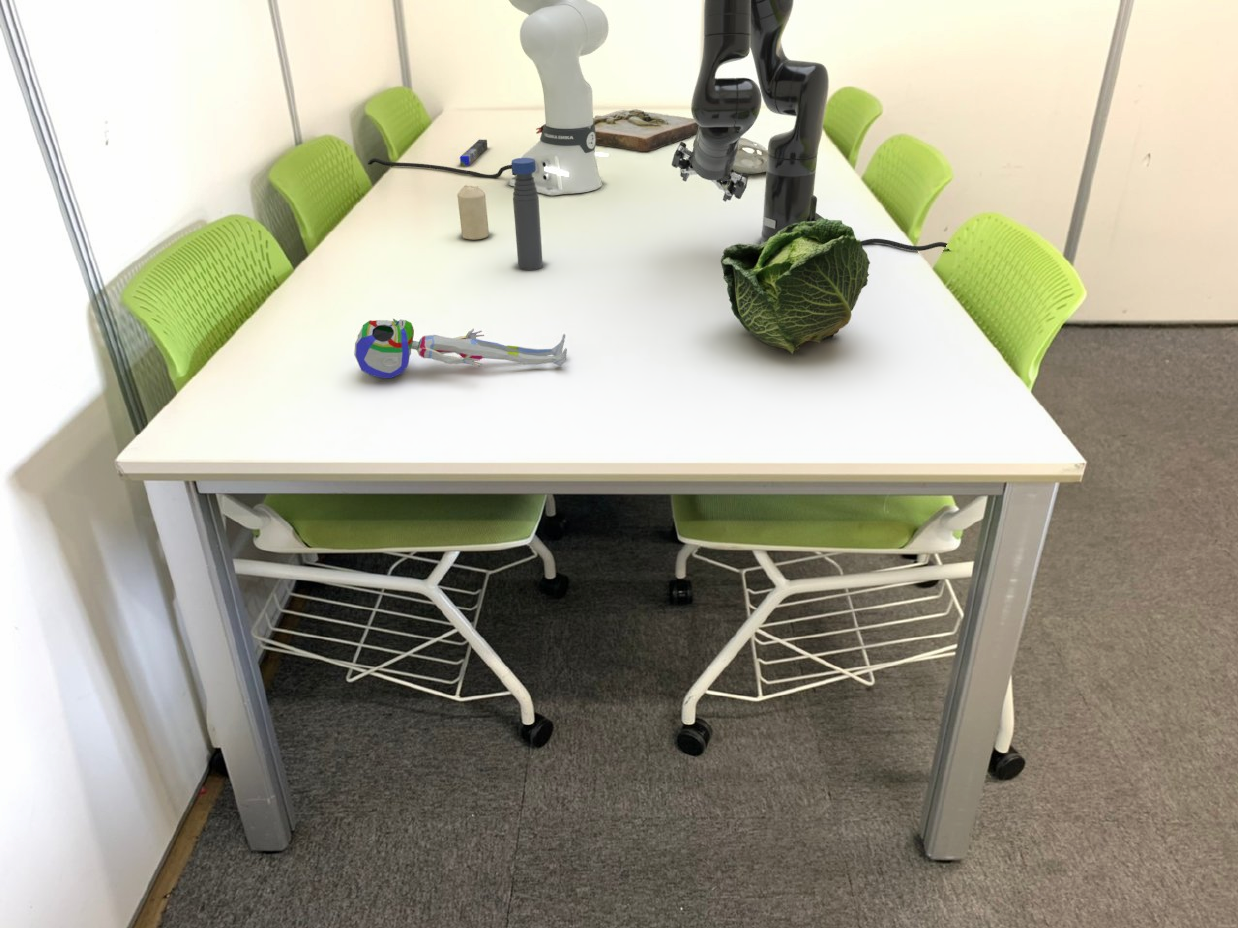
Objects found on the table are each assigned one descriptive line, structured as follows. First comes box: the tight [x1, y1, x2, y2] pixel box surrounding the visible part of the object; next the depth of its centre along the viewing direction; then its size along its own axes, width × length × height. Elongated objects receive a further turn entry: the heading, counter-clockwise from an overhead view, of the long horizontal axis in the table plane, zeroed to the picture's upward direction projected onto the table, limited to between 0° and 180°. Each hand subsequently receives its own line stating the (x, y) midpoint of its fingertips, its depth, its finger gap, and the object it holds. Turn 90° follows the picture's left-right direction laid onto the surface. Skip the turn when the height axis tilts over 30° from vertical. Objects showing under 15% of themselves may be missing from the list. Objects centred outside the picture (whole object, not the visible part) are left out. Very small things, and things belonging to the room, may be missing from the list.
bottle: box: [512, 173, 544, 271], centre depth 163 cm, size 5×5×19 cm
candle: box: [456, 184, 490, 240], centre depth 181 cm, size 6×6×10 cm
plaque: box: [593, 108, 699, 152], centre depth 257 cm, size 30×7×30 cm
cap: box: [510, 157, 536, 174], centre depth 159 cm, size 4×4×2 cm
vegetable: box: [720, 217, 871, 354], centre depth 134 cm, size 20×19×20 cm
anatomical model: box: [733, 136, 768, 175], centre depth 221 cm, size 15×9×25 cm
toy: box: [353, 318, 568, 379], centre depth 130 cm, size 10×8×30 cm
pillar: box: [459, 139, 488, 167], centre depth 240 cm, size 2×2×20 cm
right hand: (706, 186), depth 170 cm, fingers open, 8 cm apart
